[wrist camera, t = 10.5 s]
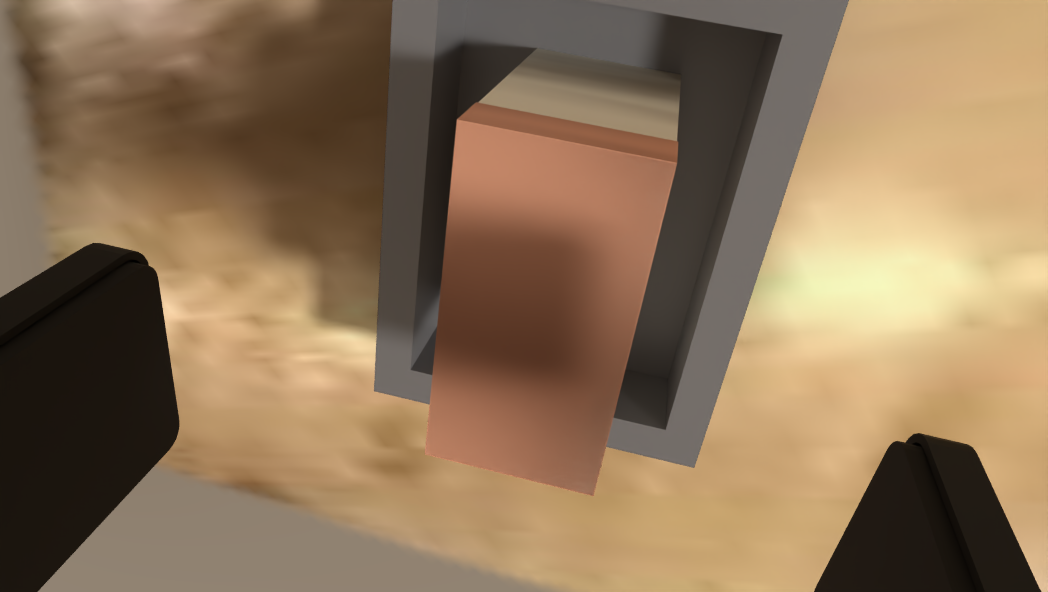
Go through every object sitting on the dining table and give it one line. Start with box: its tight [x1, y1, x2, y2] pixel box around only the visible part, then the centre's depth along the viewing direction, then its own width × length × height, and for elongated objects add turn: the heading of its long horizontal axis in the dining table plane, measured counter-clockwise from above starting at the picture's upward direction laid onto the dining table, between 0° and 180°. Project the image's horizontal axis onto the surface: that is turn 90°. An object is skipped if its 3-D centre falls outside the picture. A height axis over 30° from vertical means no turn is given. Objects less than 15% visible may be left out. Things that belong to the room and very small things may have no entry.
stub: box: [425, 48, 681, 496], centre depth 16 cm, size 7×4×7 cm, turn 172°
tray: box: [374, 0, 849, 468], centre depth 19 cm, size 12×9×3 cm
